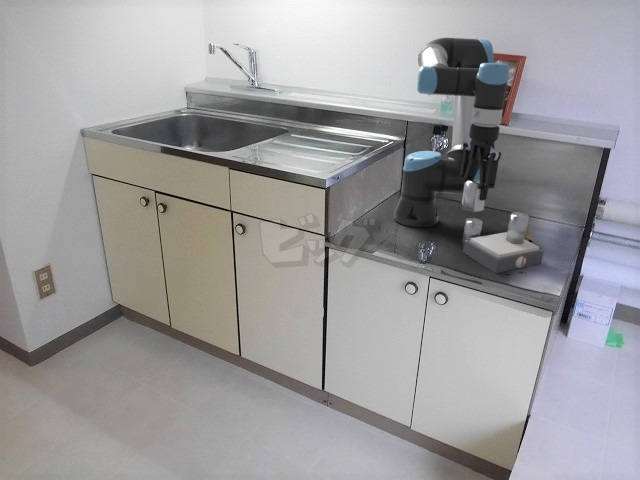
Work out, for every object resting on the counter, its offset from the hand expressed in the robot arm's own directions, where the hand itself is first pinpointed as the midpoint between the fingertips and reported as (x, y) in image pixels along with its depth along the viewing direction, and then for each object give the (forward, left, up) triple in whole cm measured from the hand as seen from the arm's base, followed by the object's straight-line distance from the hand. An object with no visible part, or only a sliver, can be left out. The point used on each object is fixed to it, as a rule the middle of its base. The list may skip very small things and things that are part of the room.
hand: (472, 207), depth 146 cm
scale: (+5, +9, -15) cm, 19 cm away
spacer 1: (0, 0, -1) cm, 1 cm away
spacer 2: (-6, +7, -15) cm, 18 cm away
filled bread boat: (-4, +25, -16) cm, 30 cm away
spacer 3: (+5, +13, -10) cm, 18 cm away
